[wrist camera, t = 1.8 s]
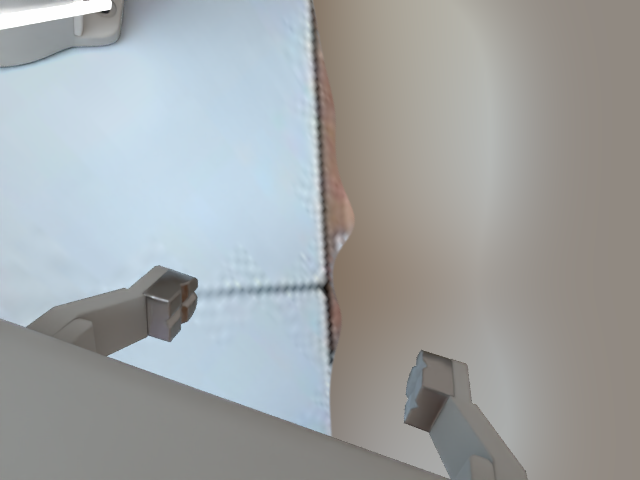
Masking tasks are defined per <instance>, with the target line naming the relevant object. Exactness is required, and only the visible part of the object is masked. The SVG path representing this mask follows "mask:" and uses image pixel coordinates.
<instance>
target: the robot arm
mask: <svg viewBox="0 0 640 480" xmlns="http://www.w3.org/2000/svg"><path fill="white" fill-rule="evenodd" d="M124 1H125V0H0V67H8V66H15V65H21V64H26V63H30V62H34V61H37V60H40V59H43V58H45V57H48V56H50V55H52V54H54V53H57V52H59V51H61V50H64V49H67V48H70V47H84V46H104V45H109V44H112V43H114V42H116V41H117V40H118V38H119V36H120V31H121V24H122V16H123V9H124ZM104 10H107V11H108V12H109V13H107V14H104V13H101V12H100V11H104ZM197 288H198V280H197V279H196V278H195V277H192V276H189V275H186V274H184V273H181V272H178V271H175V270H172V269H168V268H165V267H163V266H160V265H158V266H155V267H154V268H152V269H151V270H150V271H149V272H148V273H146V274H145V275H144V276H143V277H142V278H141V279H139V280H138V281H137V282H136V283H135V284H133V285H132V286H131V287H130V288H129V289H126V288H122V289H118V290H115V291H111V292H107V293H104V294H100V295H96V296H93V297H89V298H85V299H81V300H78V301H74V302H70V303H67V304H63V305H59V306H55V307H53V308H51V309H50V310H49V311H47V312H46V313H45V314H43V315H42V316H40V317H39V318H38V319H36V320H35V321H34V322H32V323H31V324H29V325H28V326H27V327H23V326H20V325H17V324H14V323H12V322H9V321H6V320H3V319H0V480H528V479H527V475H526V471H525V470H524V468H523V467H522V466H521V464H520V463H519V462H518V460H517V459H516V458H515V456H514V455H513V453H512V452H511V451H510V449H509V448H508V447H507V446H506V444H505V443H504V441H503V440H502V439H501V437H500V436H499V435H498V433H497V432H496V431H495V429H494V428H493V427H492V425H491V424H490V422H489V421H488V420H487V418H486V417H485V416H484V414H483V413H482V412H481V411H480V409H479V408H478V406H477V405H476V404H473V403H472V400H471V391H470V383H469V374H468V366H467V364H466V363H462V362H459V361H456V360H453V359H448V358H445V357H442V356H439V355H436V354H432V353H429V352H426V351H423V350H421V351H420V352H419V354H418V356H417V361H416V366H414V367H412V370H411V372H410V375H409V378H408V382H407V387H406V396H407V397H408V401H407V403H406V405H405V415H404V423H405V424H408V425H411V426H414V427H416V428H419V429H421V430H424V431H427V432H429V434H430V436H431V438H432V440H433V443H434V445H435V447H436V449H437V451H438V453H439V455H440V458H441V460H442V462H443V464H444V466H445V468H446V470H447V472H448V474H449V476H450V478H451V479H448V478H445V477H442V476H440V475H437V474H434V473H431V472H428V471H425V470H423V469H420V468H417V467H414V466H411V465H409V464H406V463H403V462H400V461H398V460H395V459H392V458H389V457H386V456H383V455H381V454H378V453H375V452H372V451H369V450H366V449H364V448H361V447H358V446H355V445H353V444H350V443H347V442H344V441H341V440H339V439H336V438H333V437H330V436H328V435H325V434H322V433H319V432H316V431H314V430H311V429H308V428H305V427H303V426H300V425H297V424H294V423H291V422H289V421H286V420H283V419H280V418H277V417H275V416H272V415H269V414H266V413H263V412H261V411H258V410H255V409H252V408H249V407H247V406H244V405H241V404H238V403H235V402H233V401H230V400H227V399H224V398H221V397H219V396H216V395H213V394H210V393H207V392H205V391H202V390H199V389H196V388H193V387H191V386H188V385H185V384H182V383H179V382H177V381H174V380H171V379H168V378H165V377H163V376H160V375H157V374H154V373H151V372H149V371H146V370H143V369H140V368H137V367H135V366H132V365H129V364H126V363H123V362H121V361H118V360H115V359H112V358H109V357H107V356H108V355H110V354H112V353H114V352H116V351H118V350H121V349H123V348H125V347H127V346H129V345H131V344H133V343H135V342H137V341H139V340H141V339H143V338H146V337H147V336H152V337H155V338H158V339H161V340H164V341H168V342H171V341H172V339H173V338H174V337H175V336H176V335H177V334H178V332H179V331H180V330H181V324H182V323H185V322H187V321H188V320H189V319H190V318H191V317H192V315H193V313H194V311H195V309H196V305H197V295H196V294H195V292H194V291H195V290H196V289H197Z"/></svg>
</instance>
